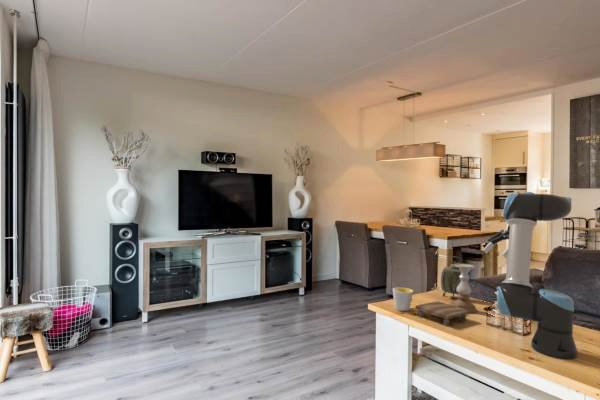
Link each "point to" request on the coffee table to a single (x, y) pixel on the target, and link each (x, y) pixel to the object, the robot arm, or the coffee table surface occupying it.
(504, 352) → the coffee table surface
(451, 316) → the walnut stand
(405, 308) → the mug
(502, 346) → the coffee table surface
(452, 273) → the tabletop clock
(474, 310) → the candle holder
